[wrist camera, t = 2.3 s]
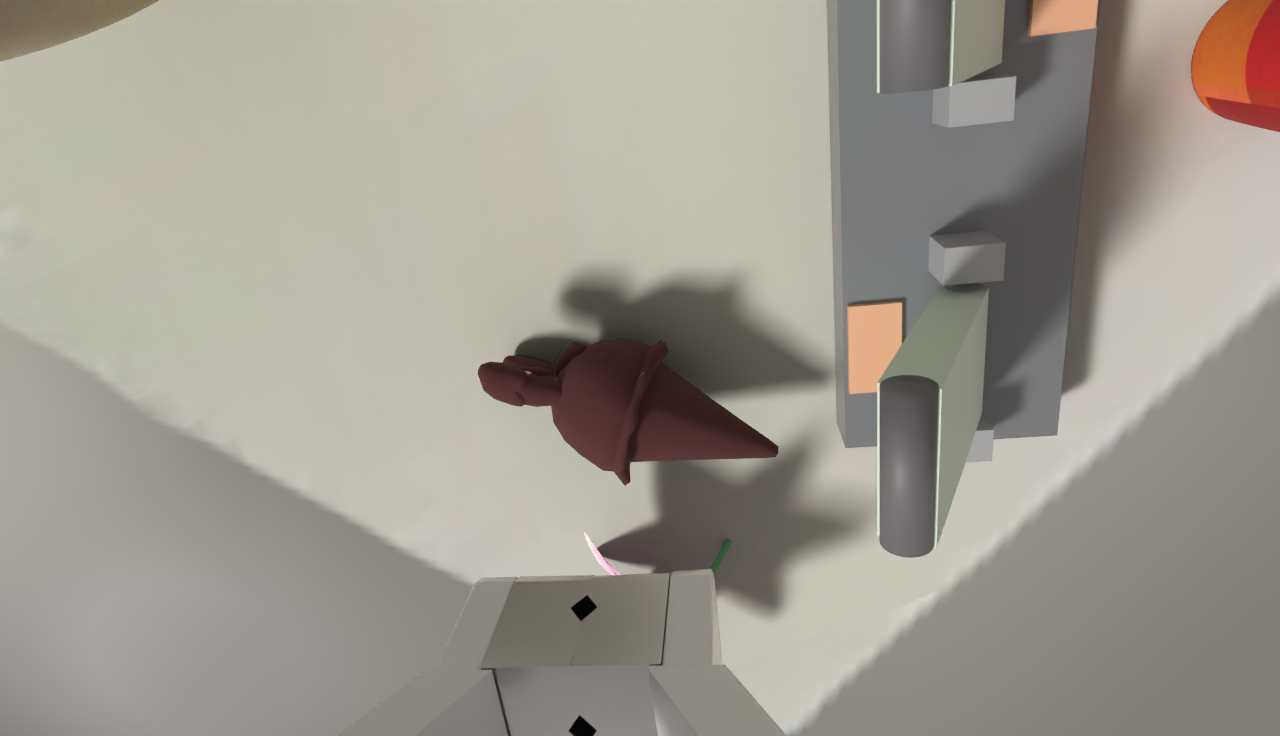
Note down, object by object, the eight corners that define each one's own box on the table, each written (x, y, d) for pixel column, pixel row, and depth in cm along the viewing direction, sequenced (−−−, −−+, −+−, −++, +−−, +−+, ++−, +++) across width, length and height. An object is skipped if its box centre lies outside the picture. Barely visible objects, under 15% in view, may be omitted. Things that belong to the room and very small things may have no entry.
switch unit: (823, -137, 30) (844, -173, 26) (1083, -178, 29) (1156, -225, 24) (837, 422, 40) (853, 472, 35) (1034, 410, 39) (1079, 459, 34)
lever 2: (943, 280, 34) (870, 394, 24) (991, 282, 33) (936, 401, 23) (939, 400, 36) (870, 550, 26) (984, 405, 35) (931, 562, 25)
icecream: (809, 392, 33) (487, 297, 34) (759, 546, 34) (448, 450, 35) (794, 372, 39) (526, 293, 41) (753, 501, 41) (493, 421, 42)
